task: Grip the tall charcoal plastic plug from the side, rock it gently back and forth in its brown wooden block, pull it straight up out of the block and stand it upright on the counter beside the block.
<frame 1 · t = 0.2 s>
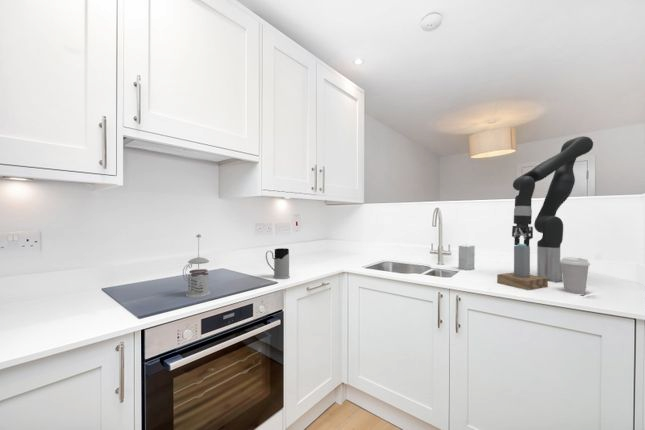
hand: (521, 246, 143), 17 cm above the worktop, tool pointing down, fingers open, 8 cm apart
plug: (521, 284, 129), point 1 cm above the worktop, touching brown wooden block
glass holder: (277, 277, 148), on the worktop
coffee cup: (574, 294, 118), on the worktop
skincare box: (466, 269, 171), on the worktop
brown wooden block: (521, 286, 129), on the worktop
french press: (196, 294, 116), on the worktop
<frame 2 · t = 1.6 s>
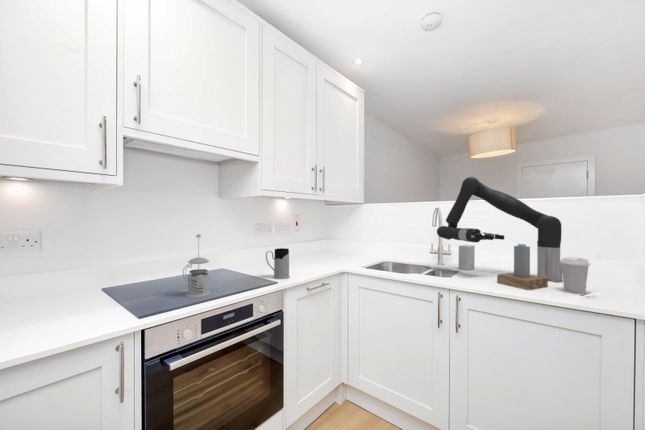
hand: (498, 237, 139), 22 cm above the worktop, tool horizontal, fingers open, 8 cm apart
nothing on the worktop moved.
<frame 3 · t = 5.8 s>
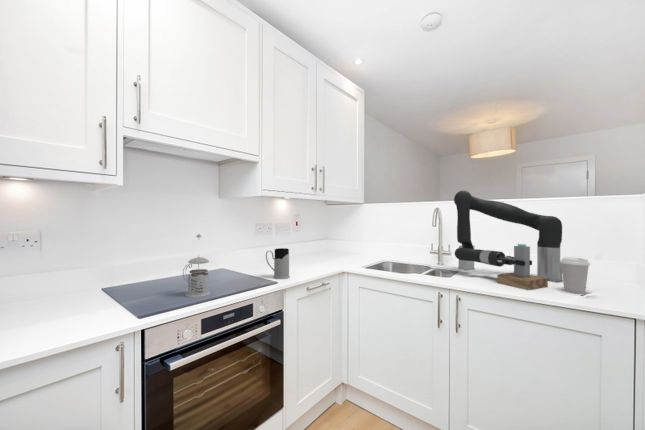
hand: (528, 263, 126), 11 cm above the worktop, tool horizontal, fingers closed on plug, 4 cm apart
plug: (521, 284, 129), point 1 cm above the worktop, touching gripper, brown wooden block
everything else where it was.
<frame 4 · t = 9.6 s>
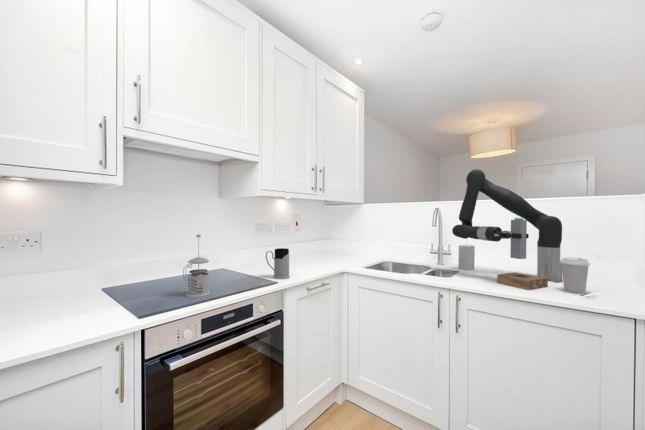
hand: (524, 236, 127), 24 cm above the worktop, tool horizontal, fingers closed on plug, 4 cm apart
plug: (518, 258, 130), point 13 cm above the worktop, touching gripper
everything else where it was.
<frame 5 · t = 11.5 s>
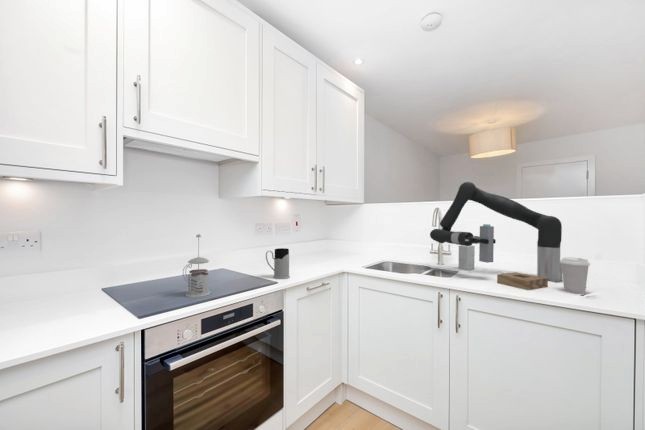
hand: (491, 241, 138), 20 cm above the worktop, tool horizontal, fingers closed on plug, 4 cm apart
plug: (486, 261, 140), point 10 cm above the worktop, touching gripper
everything else where it was.
when the fingers open (12 cm above the worktop, at t = 13.3 s): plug drops 1 cm, on the worktop.
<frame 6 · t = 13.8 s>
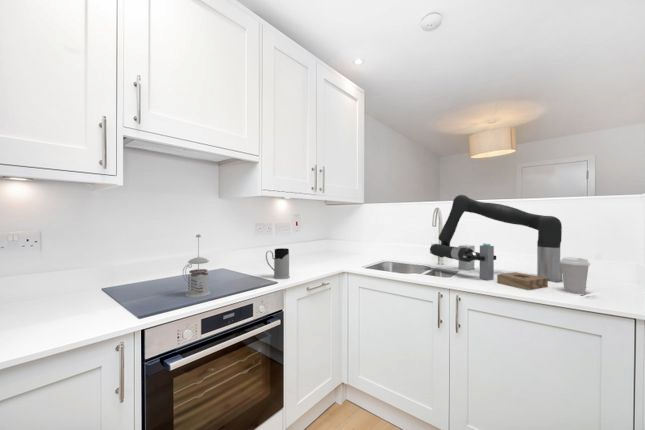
hand: (490, 258, 138), 12 cm above the worktop, tool horizontal, fingers open, 8 cm apart
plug: (486, 281, 140), on the worktop
everything else where it was.
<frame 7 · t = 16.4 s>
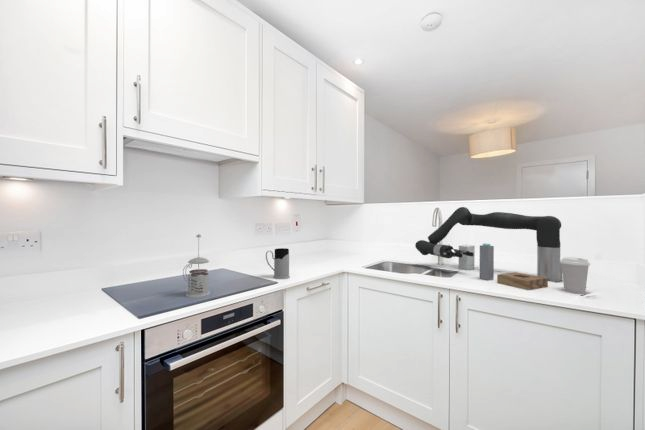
hand: (467, 255, 150), 12 cm above the worktop, tool horizontal, fingers open, 8 cm apart
nothing on the worktop moved.
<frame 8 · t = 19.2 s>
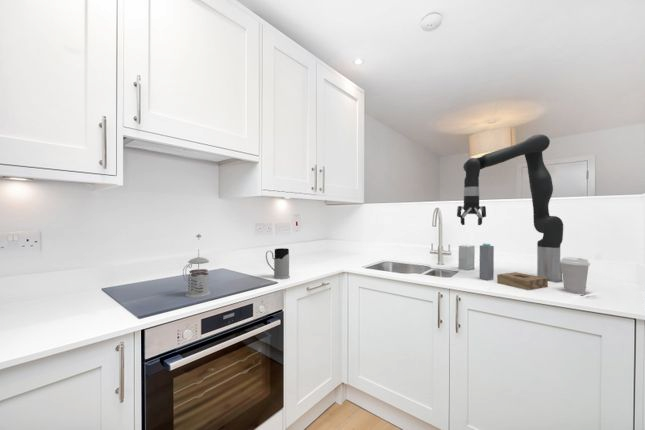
hand: (471, 225, 151), 28 cm above the worktop, tool pointing down, fingers open, 8 cm apart
nothing on the worktop moved.
at the end: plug inside the target area on the worktop beside the brown wooden block (0.1 cm from its centre), on the worktop; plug tilted 0°; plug touching worktop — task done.
